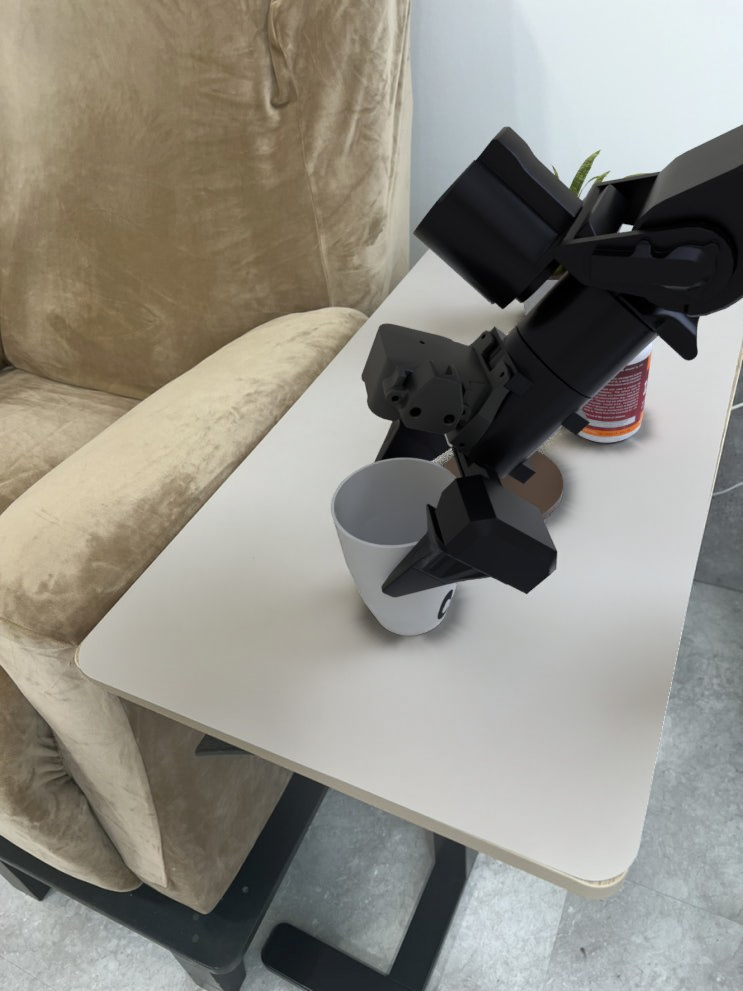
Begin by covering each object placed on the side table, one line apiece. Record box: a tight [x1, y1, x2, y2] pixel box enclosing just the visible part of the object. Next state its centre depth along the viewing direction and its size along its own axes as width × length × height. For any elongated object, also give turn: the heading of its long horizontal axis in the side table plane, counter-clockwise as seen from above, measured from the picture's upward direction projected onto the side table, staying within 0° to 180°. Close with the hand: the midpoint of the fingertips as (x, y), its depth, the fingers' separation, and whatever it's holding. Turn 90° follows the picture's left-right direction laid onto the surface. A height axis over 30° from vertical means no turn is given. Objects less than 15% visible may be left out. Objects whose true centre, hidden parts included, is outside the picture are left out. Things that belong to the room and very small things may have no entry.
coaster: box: [443, 450, 564, 519], centre depth 61 cm, size 10×10×1 cm
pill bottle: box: [577, 340, 654, 443], centre depth 62 cm, size 6×6×11 cm
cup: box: [330, 458, 458, 636], centre depth 50 cm, size 8×8×10 cm
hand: (376, 539), depth 49 cm, fingers open, 9 cm apart
